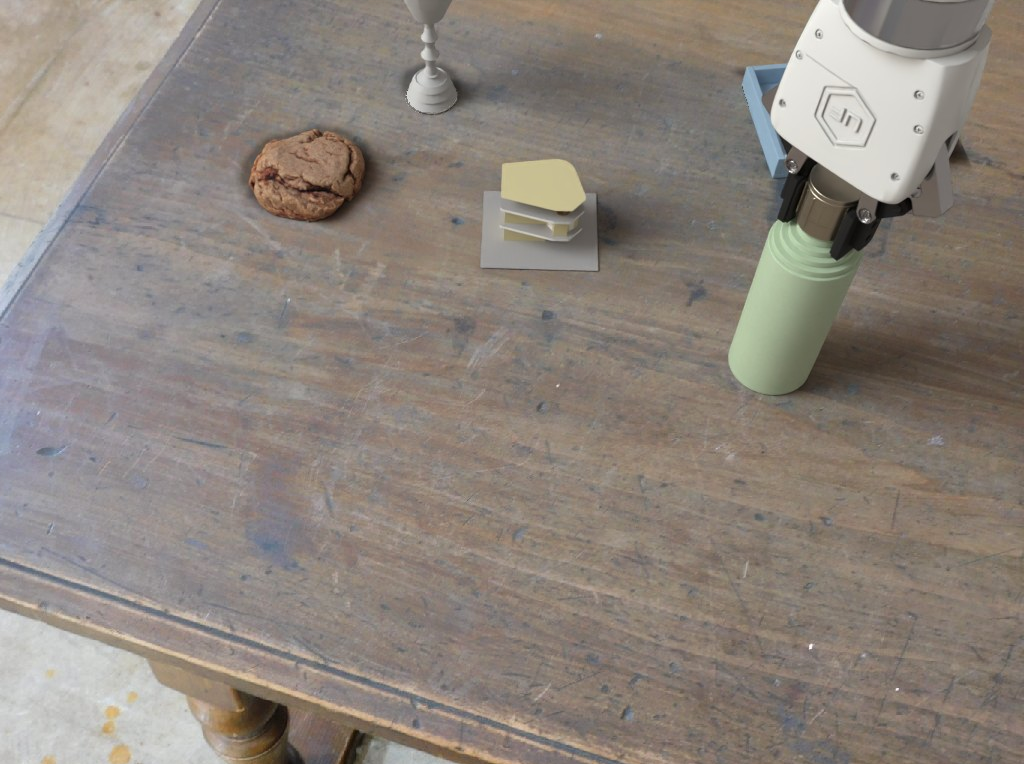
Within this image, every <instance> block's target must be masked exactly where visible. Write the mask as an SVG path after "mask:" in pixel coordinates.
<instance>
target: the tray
mask: <svg viewBox="0 0 1024 764" xmlns="http://www.w3.org/2000/svg"><path fill="white" fill-rule="evenodd" d="M787 65H788V62H787V63H785V62H784V63H773V64H760V65H747V66H746V67H745V72H744V75H743V79H742V82H741V87H742V86H743V89H742V91H743V90H744V92H743V95H744V94H745V95H744V98H745V97H746V98H745V100H746V99H747V101H746V103H747V102H748V104H747V107H748V106H749V107H748V110H749V113H750V116H751V119H752V122H753V125H754V128H755V130H756V131H755V132H756V134H757V137H758V140H759V142H760V145H761V149H762V151H763V154H764V158H765V161H766V164H767V167H768V170H769V172H770V175H771V178H772V179H783V178H787V176H788V173H789V172H788V171H787V170H786V168H785V166H784V160H785V158H786V157H787V154H786V151H785V149H784V147H783V144H782V142H781V139H780V137H779V134H778V133H777V131H776V130H775V129H774V127H773V125H772V123H771V116H770V115H769V113H768V112H767V110H766V109H765V107H764V105H763V103H762V100H761V98H762V96H763V95H764V94H765V93H766V92H768V91H769V90H771V89H772V88H774V87H775V86H776V85H778V84H779V83H780V82H781V79H782V77H783V74H784V72H785V69H786V67H787Z"/></svg>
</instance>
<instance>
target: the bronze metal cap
mask: <svg viewBox="0 0 1024 764" xmlns="http://www.w3.org/2000/svg"><path fill="white" fill-rule="evenodd" d="M860 193H861V191H860V190H859V189H857V188H856V187H854V186H853V185H851V184H850V183H848V182H847V181H845V180H843V179H842V178H840V177H839V176H837V175H836V174H834V173H833V172H831V171H830V170H828V169H827V168H825V167H824V166H822V165H821V164H819V163H817V164H816V165H815V166H814V167H813V168H812V170H811V173H810V175H809V178H808V181H806V184H805V187H804V190H803V192H802V195H801V198H800V201H799V203H798V206H797V209H796V221H797V223H798V225H799V227H800V228H801V229H802V230H803V231H804V232H805V233H806V234H808V235H809V236H811V237H813V238H816V239H819V240H824V241H834V240H835V238H836V236H837V233H838V231H839V229H840V226H841V224H842V222H843V219H844V217H845V216H846V214H847V213H848V212H850V211H851V210H852V209H854V208H857V205H858V202H859V198H860Z"/></svg>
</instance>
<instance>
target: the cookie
mask: <svg viewBox="0 0 1024 764" xmlns="http://www.w3.org/2000/svg"><path fill="white" fill-rule="evenodd" d="M365 162H366V161H365V158H364V157H363V153H362V150H361V149H360V147H359V146H357V145H356V144H355V142H353V141H352V140H351V139H349V138H347V137H345V136H343V135H342V134H340V133H337V132H333V131H328V130H325V131H324V132H322V131H320V130H318V129H317V128H313V129H311V130H307V131H303V132H301V133H300V134H297V135H294V136H290V137H288V138H281V140H279V139H277V138H274V139H272V140H271V141H268V142H267V143H266V144H265V145H264V147H263V149H262V151H261V153H260V154H258V155H257V156H256V158H255V160H254V162H253V166H252V168H251V170H250V171H251V172H250V173H251V174H250V177H249V179H248V186H249V188H250V189H251V190H252V191H253V194H254V196H255V198H256V200H257V202H258V204H259V205H260V206H262V208H263V209H264V210H266V212H268V213H270V214H272V215H274V216H275V217H277V216H280V217H282V218H288V219H291V220H300V221H304V220H305V221H306V222H308V223H309V222H316V221H317V220H321V219H325V218H326V217H330V216H332V215H334V214H335V213H336V211H337V210H338V209H339V208H340V207H341V206H342V205H343V203H344V201H346V200H347V201H349V202H351V201H352V199H353V198H354V197H355V196H356V195H357V194H359V192H360V191H361V189H362V183H363V179H364V178H365V172H366V166H365V165H366V163H365Z"/></svg>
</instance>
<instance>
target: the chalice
mask: <svg viewBox="0 0 1024 764" xmlns="http://www.w3.org/2000/svg"><path fill="white" fill-rule="evenodd" d="M403 2H404V4H405V5H406V7H407V8H408V10H409V12H410V13H411V15H412V17H413V18H414V20H415V21H416V22H418V23H419V24H422V25H423V26H424V28H423V33H421V35H420V39H421V40H422V42H423V43H424V49H423V50H421V52H420V57H421V58H422V59H423V60H424V62H425V67H423V68H421V69H419V70H418V71H417V72H416V73H414V75H413V77H412V79H411V82H410V83H409V85H408V89H407V90H408V91H407V90H406V92H407V95H406V94H405V96H407V99H408V103H409V102H410V105H411V106H412V107H414V108H415V109H416V110H419V111H421V112H431V113H433V112H440V111H443V110H444V109H448V108H449V106H450V107H451V106H452V105H453V103H454V102H455V100H456V97H457V93H458V91H457V92H456V90H457V88H456V87H455V85H454V82H453V81H452V79H451V77H450V75H449V73H447V71H445V70H444V69H443V68H441V67H437V66H436V61H437V59H439V57H440V54H441V53H440V51H439V49H437V48H436V46H435V45H436V42H437V41H438V39H439V34H438V32H436V28H435V24H437V23H439V22H440V21H442V20H443V18H444V17H445V15H446V13H447V10H449V7H450V6H451V3H452V2H453V0H403Z"/></svg>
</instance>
